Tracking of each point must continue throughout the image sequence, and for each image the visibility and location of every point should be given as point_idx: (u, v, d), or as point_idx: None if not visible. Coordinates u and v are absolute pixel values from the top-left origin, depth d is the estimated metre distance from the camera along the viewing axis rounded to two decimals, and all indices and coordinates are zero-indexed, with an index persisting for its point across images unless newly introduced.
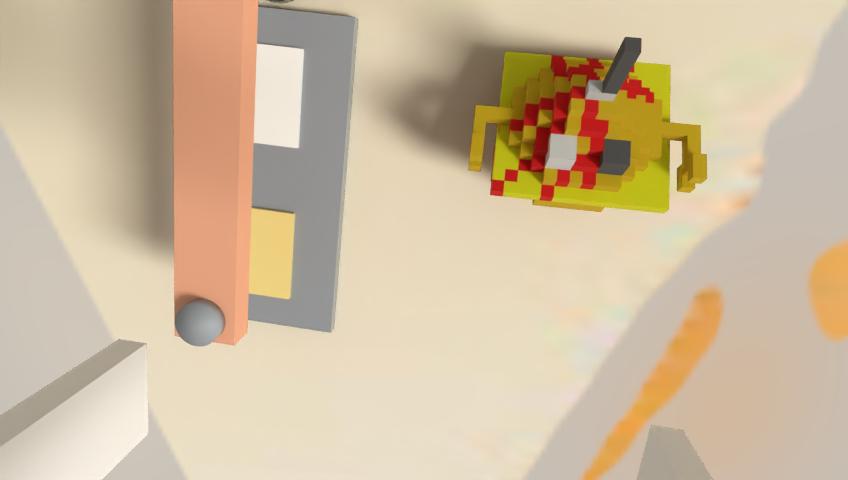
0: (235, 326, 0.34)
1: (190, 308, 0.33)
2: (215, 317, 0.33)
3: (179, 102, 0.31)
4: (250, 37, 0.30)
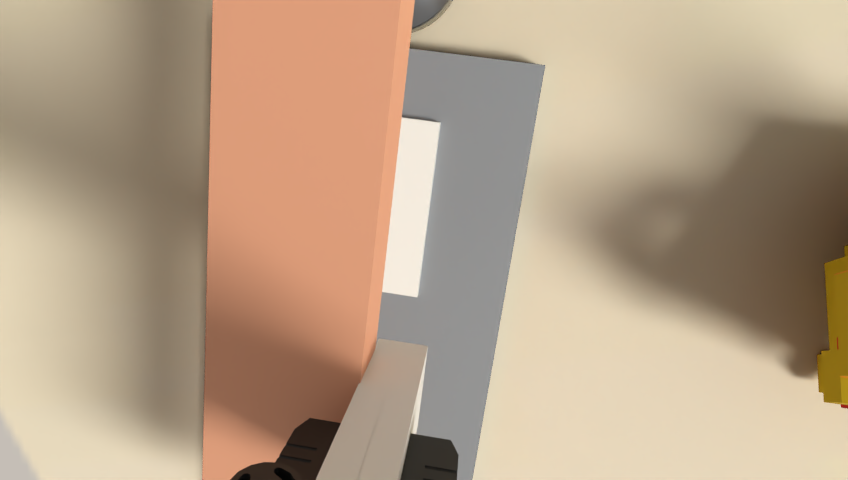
0: None
1: None
2: None
3: (221, 287, 0.13)
4: (393, 137, 0.13)
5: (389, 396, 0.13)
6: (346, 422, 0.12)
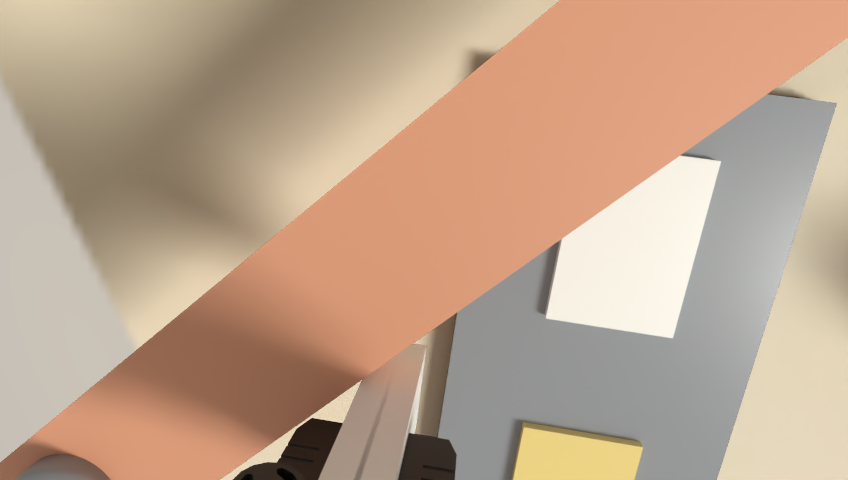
0: None
1: None
2: None
3: (403, 151, 0.12)
4: None
5: (387, 396, 0.13)
6: (348, 422, 0.12)
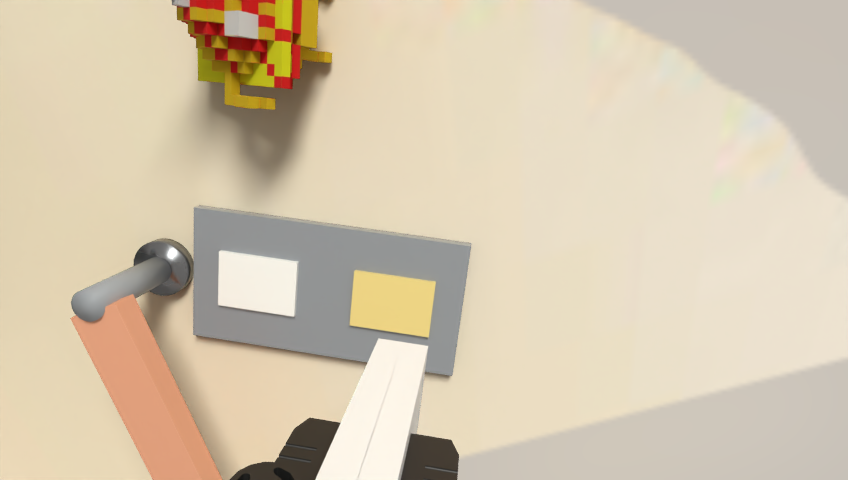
0: None
1: None
2: None
3: (128, 423, 0.41)
4: (154, 359, 0.41)
5: (389, 396, 0.13)
6: (345, 422, 0.12)
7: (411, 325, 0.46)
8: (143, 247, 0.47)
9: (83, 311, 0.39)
